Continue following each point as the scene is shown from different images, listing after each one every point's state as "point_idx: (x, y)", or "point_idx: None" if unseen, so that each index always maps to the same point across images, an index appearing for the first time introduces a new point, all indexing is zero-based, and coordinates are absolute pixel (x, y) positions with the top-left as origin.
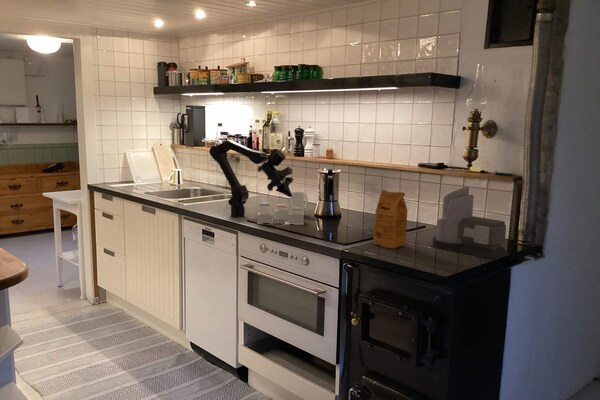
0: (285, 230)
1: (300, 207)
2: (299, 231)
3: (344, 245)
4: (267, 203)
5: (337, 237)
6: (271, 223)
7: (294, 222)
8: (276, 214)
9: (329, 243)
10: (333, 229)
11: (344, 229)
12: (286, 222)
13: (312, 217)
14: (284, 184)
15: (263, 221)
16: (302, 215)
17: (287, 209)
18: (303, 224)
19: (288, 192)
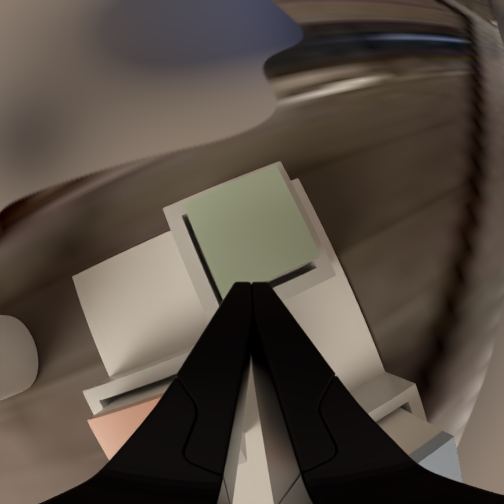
0: (473, 214)
1: (217, 197)
2: (451, 146)
3: (472, 19)
4: (441, 465)
5: (425, 23)
6: (386, 375)
7: None
8: None
9: (487, 45)
10: (320, 33)
11: (292, 7)
12: (299, 311)
13: (34, 235)
14: (484, 491)
15: None
16: (284, 172)
17: (102, 398)
18: (298, 179)
19: (305, 346)
